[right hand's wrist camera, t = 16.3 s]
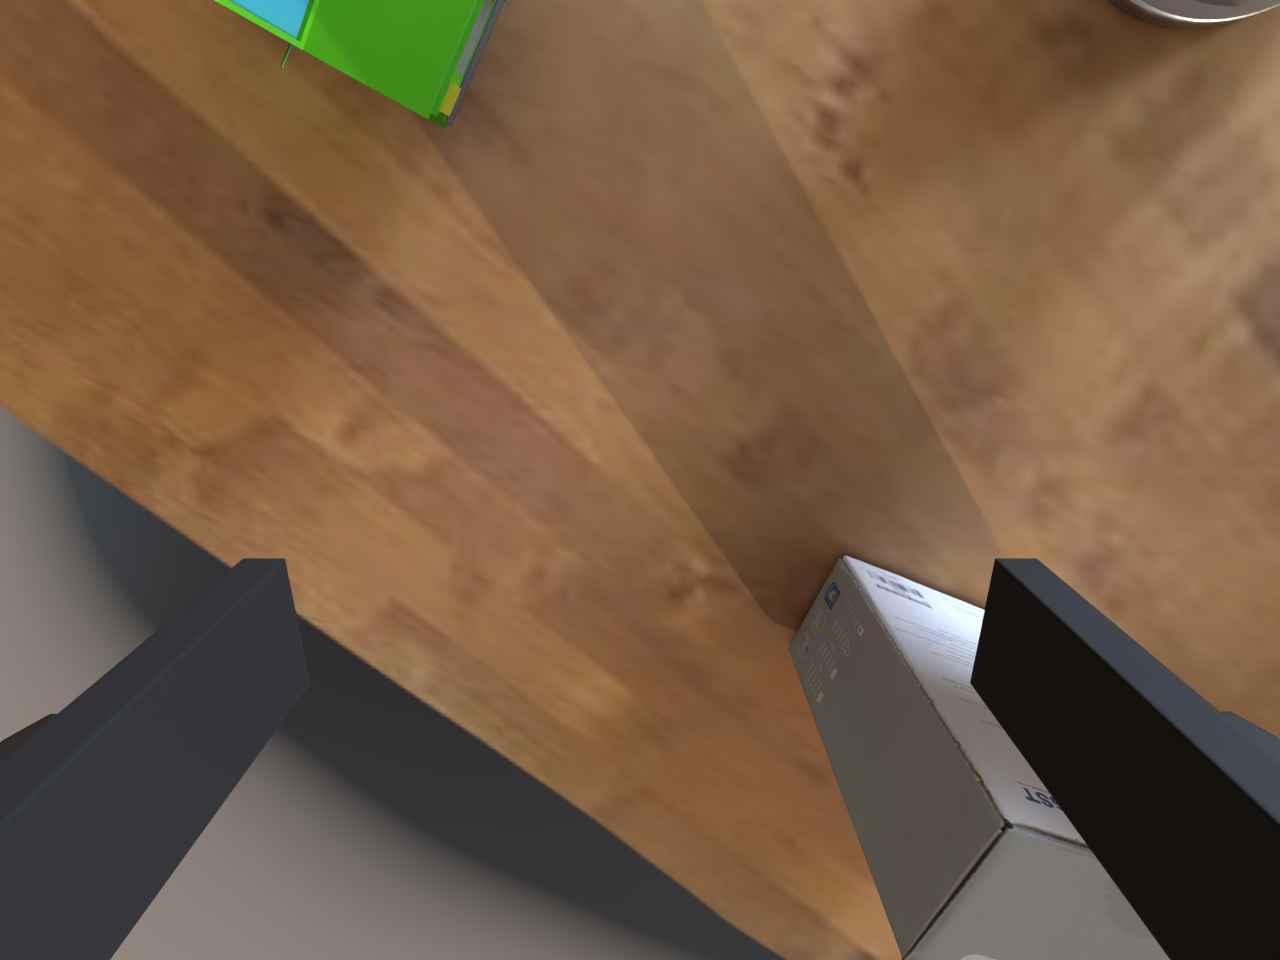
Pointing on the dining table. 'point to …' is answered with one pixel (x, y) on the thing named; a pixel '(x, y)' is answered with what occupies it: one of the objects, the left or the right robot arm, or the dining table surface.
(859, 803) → the hard drive box
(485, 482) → the dining table surface
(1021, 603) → the right robot arm
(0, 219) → the dining table surface
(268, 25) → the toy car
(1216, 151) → the dining table surface
